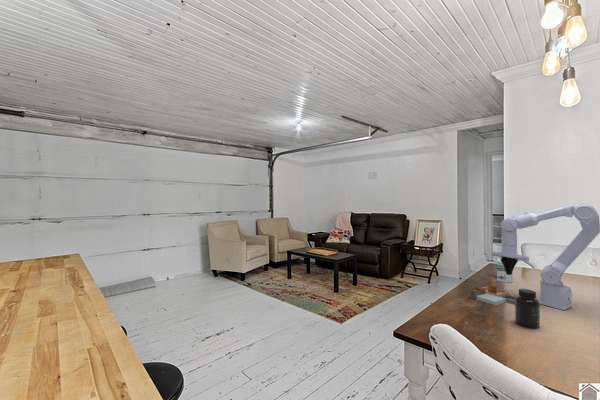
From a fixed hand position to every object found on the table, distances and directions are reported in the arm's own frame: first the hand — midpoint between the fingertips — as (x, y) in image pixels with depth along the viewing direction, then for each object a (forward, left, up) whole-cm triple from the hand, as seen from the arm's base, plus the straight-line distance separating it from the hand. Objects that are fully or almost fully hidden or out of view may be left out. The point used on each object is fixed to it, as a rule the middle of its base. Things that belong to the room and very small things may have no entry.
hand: (509, 274), depth 130 cm
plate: (+1, +14, -10) cm, 17 cm away
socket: (-3, +6, -10) cm, 12 cm away
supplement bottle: (-18, +27, -10) cm, 34 cm away
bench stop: (+6, +14, -10) cm, 18 cm away
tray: (+5, +4, -10) cm, 12 cm away
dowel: (+5, +4, -9) cm, 11 cm away
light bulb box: (+14, -26, -10) cm, 31 cm away
